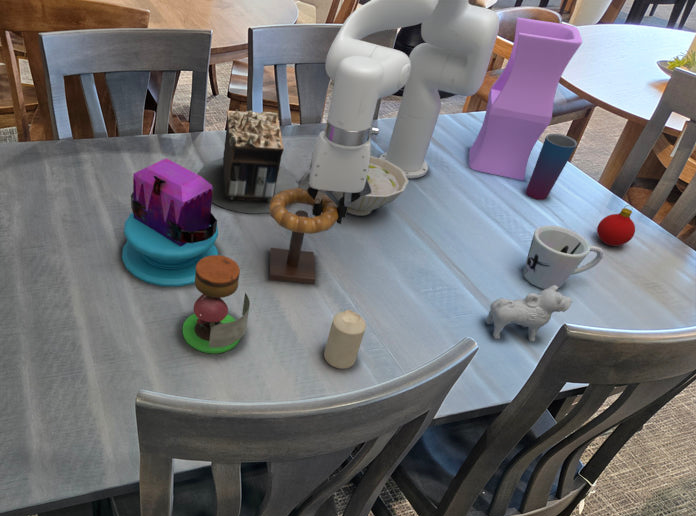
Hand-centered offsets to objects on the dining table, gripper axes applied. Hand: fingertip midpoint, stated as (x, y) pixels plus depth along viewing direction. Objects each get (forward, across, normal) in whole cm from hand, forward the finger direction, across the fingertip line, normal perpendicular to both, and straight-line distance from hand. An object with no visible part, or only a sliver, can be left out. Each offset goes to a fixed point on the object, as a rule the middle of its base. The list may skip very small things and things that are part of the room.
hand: (327, 218), depth 121 cm
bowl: (+13, -11, -26) cm, 31 cm away
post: (+13, +5, 0) cm, 14 cm away
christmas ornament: (+13, -67, -21) cm, 72 cm away
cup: (+13, -57, -40) cm, 71 cm away
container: (+13, -51, -55) cm, 76 cm away
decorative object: (+13, +30, 0) cm, 33 cm away
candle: (+13, -3, +24) cm, 28 cm away
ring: (-1, +5, 0) cm, 5 cm away
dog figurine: (+13, -37, +12) cm, 41 cm away
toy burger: (+13, +20, +22) cm, 32 cm away
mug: (+13, -50, -5) cm, 52 cm away
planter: (+13, +15, -31) cm, 37 cm away
